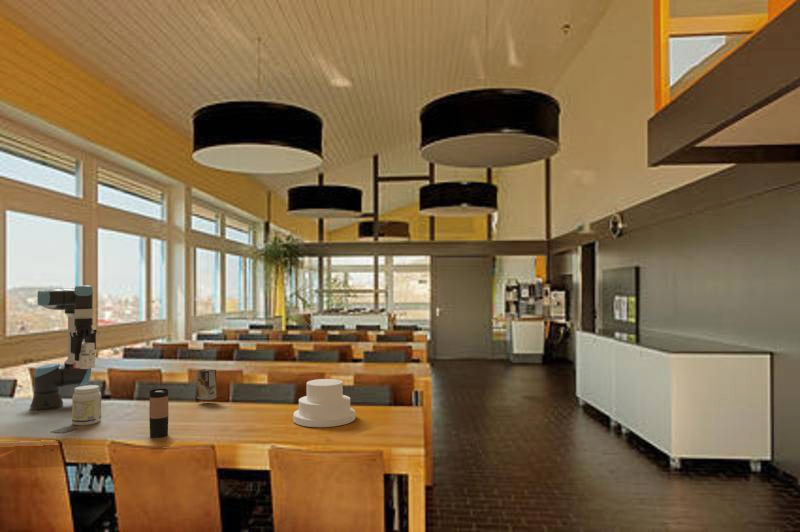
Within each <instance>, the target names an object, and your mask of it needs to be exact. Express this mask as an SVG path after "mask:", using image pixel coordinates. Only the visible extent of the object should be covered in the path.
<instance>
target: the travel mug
mask: <svg viewBox="0 0 800 532" xmlns="http://www.w3.org/2000/svg"><path fill="white" fill-rule="evenodd" d="M148 409H149V413H148V414H149V417H148V418H149V438H152V439H159V438H164V437H168V434H169V389H168V388H154V389H151V390H149V408H148Z"/></svg>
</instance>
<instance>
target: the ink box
mask: <svg viewBox="0 0 800 532" xmlns="http://www.w3.org/2000/svg"><path fill="white" fill-rule="evenodd" d="M95 352H96V351H95V343H85V342H82V345H81V351H80V354H81V357H82V368H77V369H89V368H91V369H93V368H95V367H96V364H95V363H96V361H95V359H96V356H95V355H96V354H95ZM73 368H76V361H75V354H73Z"/></svg>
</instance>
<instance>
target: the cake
mask: <svg viewBox="0 0 800 532" xmlns="http://www.w3.org/2000/svg"><path fill="white" fill-rule="evenodd" d="M343 382H344V381H343V380H340V379H335V378H318V379H313V380H312V379H311V380H308V381H307V382H306V395H304V396H301V397H300V398H299V399H298V409H297V410H294V412H293V414H292V415H293V418H292V419H293V422H294V423H295V424H296V425H299V426H303V427H310V428H330V427H331V428H332V427H338V426H343V425H347V424H350V423H352V422H354V421H355V420H356V409H354V408H352V407H351V397H350V396H348V395H345V394H344V393H343V389H344V387H343Z"/></svg>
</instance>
